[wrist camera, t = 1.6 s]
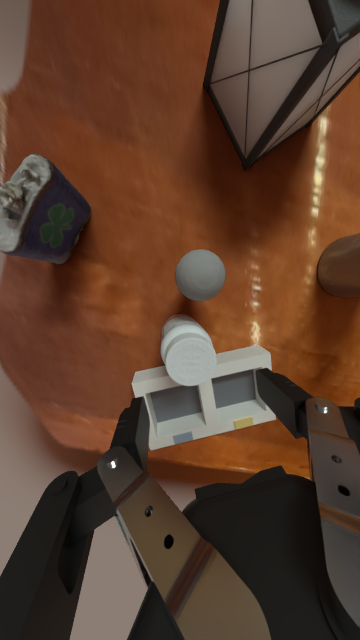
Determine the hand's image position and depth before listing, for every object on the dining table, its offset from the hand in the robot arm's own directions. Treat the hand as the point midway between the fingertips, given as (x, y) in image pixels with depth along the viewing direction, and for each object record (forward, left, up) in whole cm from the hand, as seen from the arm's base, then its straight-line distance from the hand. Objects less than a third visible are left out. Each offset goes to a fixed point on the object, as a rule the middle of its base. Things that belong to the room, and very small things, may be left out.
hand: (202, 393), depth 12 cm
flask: (+12, -17, -17) cm, 26 cm away
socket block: (-2, +11, -16) cm, 20 cm away
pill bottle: (0, 0, -17) cm, 17 cm away
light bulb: (-3, -8, -16) cm, 18 cm away
